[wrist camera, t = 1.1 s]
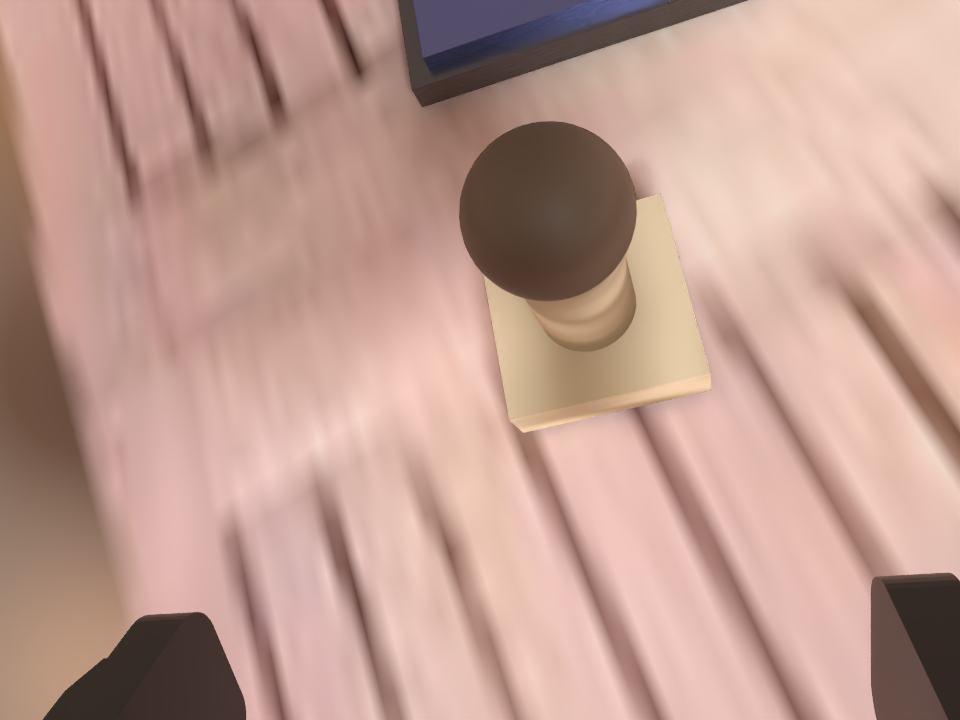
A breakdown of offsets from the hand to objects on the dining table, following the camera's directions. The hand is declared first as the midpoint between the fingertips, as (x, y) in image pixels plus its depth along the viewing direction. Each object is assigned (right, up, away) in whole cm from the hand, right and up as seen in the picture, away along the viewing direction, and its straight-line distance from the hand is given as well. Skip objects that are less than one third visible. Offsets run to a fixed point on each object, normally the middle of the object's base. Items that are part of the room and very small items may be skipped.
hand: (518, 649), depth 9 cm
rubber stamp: (+4, +5, +18) cm, 19 cm away
